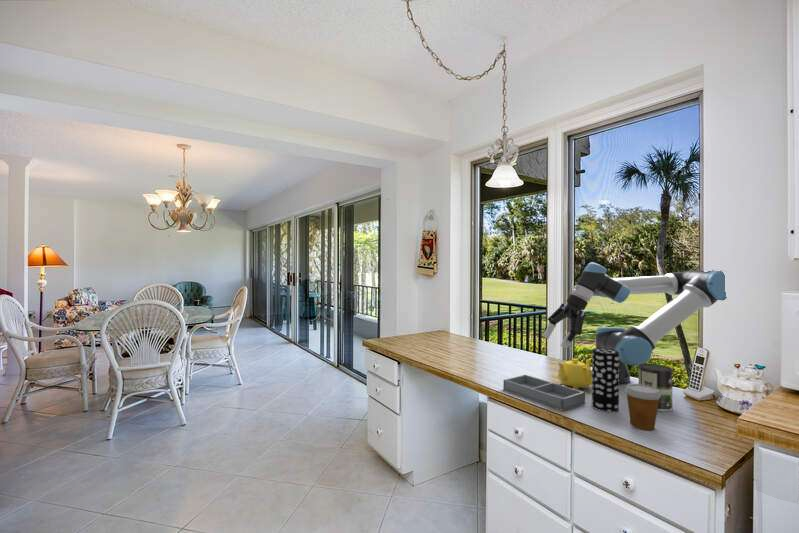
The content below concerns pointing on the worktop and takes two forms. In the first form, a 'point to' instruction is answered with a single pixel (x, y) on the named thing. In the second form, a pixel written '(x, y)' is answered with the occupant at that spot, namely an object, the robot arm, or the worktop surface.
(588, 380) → the teapot
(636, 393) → the disposable coffee cup
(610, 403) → the white-spotted black cylinder
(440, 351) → the worktop surface
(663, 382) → the coffee can
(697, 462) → the worktop surface
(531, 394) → the gray divided tray
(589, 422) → the worktop surface
